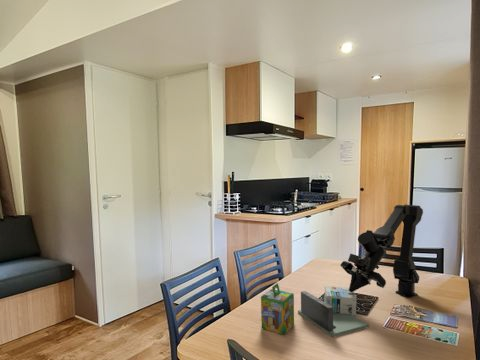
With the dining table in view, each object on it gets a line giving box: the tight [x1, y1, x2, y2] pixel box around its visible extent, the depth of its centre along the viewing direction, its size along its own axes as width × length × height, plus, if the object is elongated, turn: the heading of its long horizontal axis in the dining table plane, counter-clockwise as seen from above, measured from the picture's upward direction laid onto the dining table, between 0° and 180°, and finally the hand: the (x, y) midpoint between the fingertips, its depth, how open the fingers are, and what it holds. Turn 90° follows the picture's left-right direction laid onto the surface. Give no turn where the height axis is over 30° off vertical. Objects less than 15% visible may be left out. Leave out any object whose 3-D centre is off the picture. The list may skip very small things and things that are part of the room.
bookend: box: [300, 290, 336, 332], centre depth 116 cm, size 4×16×8 cm, turn 24°
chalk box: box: [260, 282, 295, 336], centre depth 114 cm, size 9×9×15 cm
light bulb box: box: [323, 285, 357, 316], centre depth 126 cm, size 11×7×11 cm
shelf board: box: [297, 309, 370, 338], centre depth 119 cm, size 16×20×1 cm
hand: (350, 291), depth 122 cm, fingers closed
